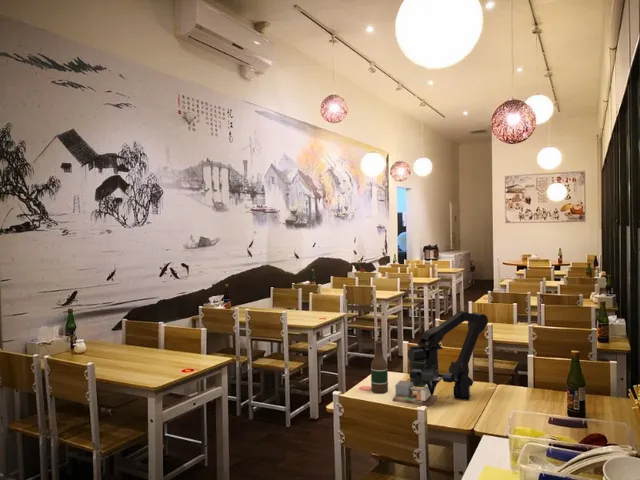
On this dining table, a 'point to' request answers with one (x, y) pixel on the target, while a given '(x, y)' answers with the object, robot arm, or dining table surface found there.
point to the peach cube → (418, 395)
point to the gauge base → (413, 399)
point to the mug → (418, 380)
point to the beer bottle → (379, 371)
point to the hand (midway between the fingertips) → (432, 394)
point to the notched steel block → (404, 389)
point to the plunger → (422, 392)
